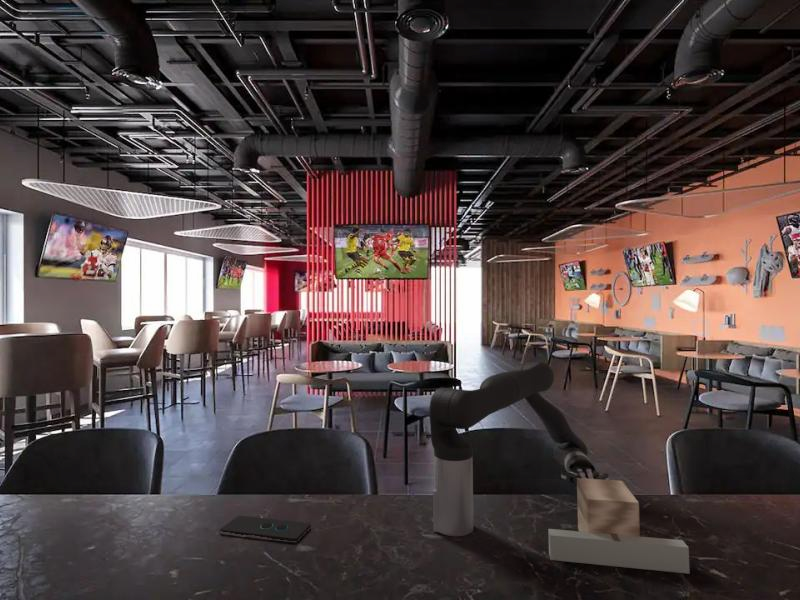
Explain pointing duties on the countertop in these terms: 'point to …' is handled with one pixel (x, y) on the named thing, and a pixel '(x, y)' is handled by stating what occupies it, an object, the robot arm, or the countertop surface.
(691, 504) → the countertop surface
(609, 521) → the birch block
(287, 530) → the smart home device
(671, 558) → the sage board
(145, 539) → the countertop surface
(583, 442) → the robot arm
